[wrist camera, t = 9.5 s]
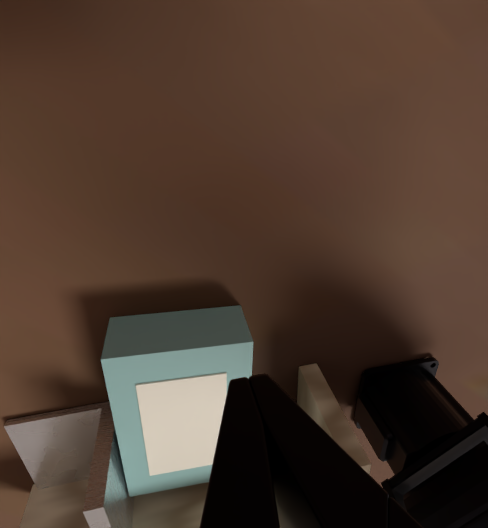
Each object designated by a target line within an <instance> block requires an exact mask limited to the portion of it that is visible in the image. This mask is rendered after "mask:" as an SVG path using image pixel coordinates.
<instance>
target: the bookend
mask: <svg viewBox="0 0 488 528" xmlns="http://www.w3.org/2000/svg"><path fill="white" fill-rule="evenodd" d="M4 427H5V429H6V431H7V433H8V435H9V437H10V439H11V440H12V442H13V444H14V446H15V448H16V450H17V452H18V453H19V455H20V457H21V459H22V461H23V463H24V465H25V466H26V468H27V470H28V472H29V474H30V476H31V478H32V479H33V481H34V483H35V485H36V487H37V489H38V490H40V489H44V488H49V487H54V486H58V485H63V484H67V483H72V482H77V481H81V480H86V479H89V481H88V486H87V491H86V497H85V502H84V508H83V514H84V516H85V518H86V520H87V522H88V525H89V527H90V528H132V522H133V507H134V496H133V497H129V492H128V488H127V483H126V478H125V473H124V468H123V464H122V459H121V454H120V449H119V444H118V440H117V435H116V430H115V425H114V421H113V416H112V411H111V406H110V401H108V402H102V403H97V404H92V405H86V406H81V407H75V408H70V409H64V410H59V411H53V412H48V413H42V414H37V415H31V416H26V417H21V418H15V419H10V420H7V421H6V423H5V425H4Z"/></svg>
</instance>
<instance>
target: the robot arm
mask: <svg viewBox="0 0 488 528" xmlns="http://www.w3.org/2000/svg"><path fill="white" fill-rule="evenodd" d="M438 365H439V362H438V361H437V360H436V359H435V358H433V357H431V358H425V359H420V360H415V361H410V362H404V363H399V364H394V365H389V366H384V367H378V368H373V369H368V370H366V371H364V372H363V374H362V378H361V384H360V391H359V395H358V399H357V405H356V411H355V421H354V423H355V425H356V427H357V428H359V429H360V428H361V429H362V430H363V432H364V434H365V436H366V437H367V439H368V441H369V443H370V444H371V446H372V448H373V450H374V451H375V453H376V455H377V457H378V458H379V459H380V460H381V461H387V462H388V464H389V466H390V467H391V469H392V471H393V473H394V474H395V475H394V476H393V477H391V478H390V479H386V480H384V481H383V482H381V484H382V487H383V488H382V487H381V486H380V485H379V484H378V483H377V482H376V481H375V480H374V479H373V478H372V477H371V476H370V475H369V474H368V473H367V472H366V471H365V470H364V469H363V468H362V467H361V466H360V465H359V464H358V463H357V462H356V461H355V460H354V459H353V458H352V457H351V456H350V455H349V454H348V453H347V452H346V451H345V450H344V449H342V448H341V447H340V446H339V445H338V444H337V443H336V442H335V441H334V440H333V439H332V438H331V437H330V436H329V435H328V434H327V433H326V432H325V431H324V430H323V429H322V428H321V427H320V426H319V425H318V424H317V423H316V422H315V421H314V420H313V419H312V418H311V417H310V416H309V415H308V414H307V413H306V412H305V411H304V410H303V409H302V408H301V407H300V406H299V405H298V404H297V403H296V402H295V401H294V400H293V399H292V398H291V397H290V396H289V395H288V394H287V393H286V392H285V391H284V390H283V389H282V388H281V387H280V386H279V385H277V384H276V383H275V382H274V381H273V380H272V379H271V378H270V377H269V376H268V375H267V374H258V375H252V376H250V377H249V378H247V377H242V378H236V379H232V380H230V382H229V386H228V391H227V396H226V400H225V405H224V410H223V415H222V420H221V425H220V430H219V435H218V440H217V444H216V449H215V454H214V459H213V464H212V469H211V474H210V479H209V483H208V488H207V493H206V498H205V503H204V508H203V513H202V518H201V523H200V527H199V528H280V527H281V528H488V416H487V415H486V414H485V413H484V412H482V413H481V414H479V415H478V416H477V417H478V418H477V419H475V420H474V419H473V418H472V417H471V416H470V415H469V414H468V413H467V412H466V410H465V409H464V408H463V407H462V406H461V405H460V404H459V403H458V402H457V401H456V400H455V398H454V397H453V396H452V395H451V394H450V393H449V392H448V391H447V390H446V389H445V388H444V386H443V385H442V384H441V383H440V382H439V381H438V380H437V379H436V378H435V375H436V371H437V368H438Z"/></svg>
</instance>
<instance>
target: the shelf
mask: <svg viewBox="0 0 488 528" xmlns="http://www.w3.org/2000/svg"><path fill="white" fill-rule="evenodd" d="M297 404H298V405H299V406H300V407H301V408H302V409H303V410H304V411H305V412H306V413H307V414H308V415H309V416H310V417H311V418H312V419H313V420H314V421H315V422H316V423H317V424H318V425H319V426H320V427H321V428H322V429H323V430H324V431H325V432H326V433H327V434H328V435H329V436H330V437H331V438H332V439H333V440H334V441H335V442H336V443H337V444H338V445H339V446H340V447H341V448H342V449H344V450H345V451H346V452H347V453H348V454H349V455H350V456H351V457H352V458H353V459H354V460H355V461H356V462H357V463H358V464H359V465H360V466H361V467H362V468H363V469H364V470H365V471H366V472H367V473H368V474H370V469H371V462H370V460H369V459H368V457H367V455H366V453H365V451H364V449H363V448H362V446H361V444H360V442H359V440H358V438H357V437H356V435H355V433H354V431H353V429H352V427H351V426H350V424H349V422H348V420H347V418H346V416H345V415H344V413H343V411H342V409H341V407H340V405H339V404H338V402H337V400H336V398H335V396H334V394H333V393H332V391H331V389H330V387H329V385H328V383H327V382H326V380H325V378H324V376H323V374H322V372H321V371H320V369H319V367H318V365H317V363H316V364H310V365H305V366H299V372H298V393H297ZM88 481H89V479H86V480H81V481H77V482H72V483H67V484H63V485H58V486H54V487H49V488H44V489H40V490H38V489H37V487H36V485H35V484H33V486H32V489H31V492H30V495H29V499H28V502H27V505H26V508H25V511H24V514H23V517H22V521H21V524H20V527H19V528H90V527H89V525H88V522H87V520H86V518H85V516H84V514H83V508H84V502H85V497H86V491H87V486H88ZM208 483H209V482H206V483H201V484H196V485H190V486H185V487H180V488H175V489H169V490H164V491H159V492H154V493H148V494H143V495H138V496H134V507H133V522H132V528H199V527H200V523H201V518H202V513H203V508H204V503H205V498H206V493H207V488H208ZM280 528H281V527H280Z"/></svg>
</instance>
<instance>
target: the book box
mask: <svg viewBox="0 0 488 528" xmlns="http://www.w3.org/2000/svg"><path fill="white" fill-rule="evenodd" d="M252 359H253V339H252V337H251V334H250V331H249V328H248V325H247V322H246V320H245V317H244V314H243V311H242V308H241V305H238V306H227V307H217V308H206V309H195V310H185V311H174V312H163V313H153V314H142V315H132V316H121V317H110V319H109V324H108V328H107V333H106V337H105V342H104V347H103V351H102V356H101V363H102V368H103V373H104V378H105V382H106V387H107V392H108V397H109V401H110V406H111V411H112V416H113V421H114V425H115V430H116V435H117V440H118V444H119V449H120V454H121V459H122V464H123V468H124V473H125V478H126V483H127V488H128V492H129V497H133V496H138V495H143V494H148V493H154V492H159V491H164V490H169V489H175V488H180V487H185V486H190V485H196V484H201V483H206V482H209V479H210V474H211V469H212V464H213V459H214V454H215V449H216V444H217V440H218V435H219V430H220V425H221V420H222V415H223V410H224V405H225V400H226V396H227V391H228V386H229V382H230V380H232V379H236V378H242V377H247V378H249V377H250V376H252Z"/></svg>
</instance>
